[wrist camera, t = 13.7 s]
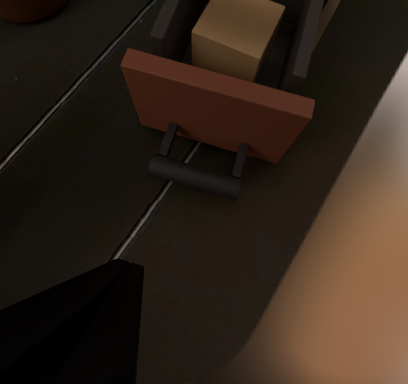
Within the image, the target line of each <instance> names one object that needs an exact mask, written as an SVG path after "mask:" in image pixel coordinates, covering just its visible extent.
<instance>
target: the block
mask: <svg viewBox="0 0 408 384" xmlns="http://www.w3.org/2000/svg"><path fill="white" fill-rule="evenodd" d="M284 10H285V6H283V5H281V4H278V3H275V2H273V1H270V0H210V2H209V3H208V5H207V7H206V8H205V10H204V12H203V13H202V15H201V17H200V18H199V20H198V22H197V23H196V25H195V27H194V28H193V30H192V66H195V67H199V68H202V69H206V70H209V71H213V72H217V73H220V74H224V75H227V76H231V77H235V78H238V79H242V80H245V81H249V82H252V83H256V82H257V80H258V78H259V76H260V73H261V71H262V69H263V67H264V65H265V63H266V61H267V59H268V56H269V53H270V50H271V48H272V45H273V42H274V39H275V36H276V33H277V30H278V27H279V25H280V22H281V19H282V16H283V13H284Z"/></svg>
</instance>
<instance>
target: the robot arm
mask: <svg viewBox="0 0 408 384" xmlns="http://www.w3.org/2000/svg"><path fill="white" fill-rule="evenodd" d="M143 278H144V267H143V266H141V265H138V264H135V263H131V264H130V263H129V262H128V261H125V260H121V259H115V260H112V261H110V262H108V263H106V264H103V265H101V266H99V267H97V268H94V269H92V270H90V271H88V272H85V273H83V274H81V275H79V276H76V277H74V278H72V279H70V280H67V281H65V282H63V283H61V284H58V285H56V286H54V287H52V288H49V289H47V290H45V291H43V292H40V293H38V294H36V295H34V296H31V297H29V298H27V299H25V300H22V301H20V302H18V303H16V304H13V305H11V306H9V307H7V308H4V309H2V310H0V384H136V374H137V371H136V369H137V358H138V345H139V331H140V318H141V305H142V291H143Z"/></svg>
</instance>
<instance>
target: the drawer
mask: <svg viewBox="0 0 408 384" xmlns="http://www.w3.org/2000/svg"><path fill="white" fill-rule="evenodd" d="M270 1H273V2H275V3H278V4H281V5H283V6H285V10H284V13H283V16H282V19H281V22H280V25H279V27H278V30H277V33H276V36H275V39H274V42H273V45H272V48H271V50H270V53H269V56H268V59H267V61H266V63H265V65H264V67H263V69H262V71H261V73H260V76H259V78H258V80H257V82H256V83H252V82H249V81H245V80H242V79H238V78H235V77H231V76H227V75H224V74H220V73H217V72H213V71H209V70H206V69H202V68H199V67H195V66H192V30H193V28H194V27H195V25H196V23H197V22H198V20H199V18H200V17H201V15H202V13H203V12H204V10H205V8H206V7H207V5H208V3H209V2H210V0H165V2H164V4H163V6H162V8H161V11H160V13H159V15H158V17H157V20H156V22H155V24H154V26H153V29H152V31H151V33H150V40H151V46H152V51H153V55H152V54H148V53H145V52H141V51H137V50H134V49H130V48H128V50H127V52H126V54H125V56H124V58H123V60H122V62H121V68H122V71H123V74H124V77H125V80H126V82H127V85H128V88H129V91H130V94H131V97H132V99H133V102H134V105H135V108H136V111H137V114H138V116H139V119H140V122H141V125H144V126H148V127H151V128H154V129H158V130H161V131H165V132H166V133H165V136H164V139H163V141H162V144H161V147H160V149H159V152H158V155H157V154H154V155H153V156H152V158H151V160H150V163H149V166H148V174H149V175H152V176H156V177H159V178H162V179H166V180H169V181H172V182H176V183H179V184H182V185H186V186H189V187H192V188H196V189H199V190H202V191H206V192H209V193H213V194H216V195H219V196H223V197H226V198H229V199H233V200H237V199H238V196H239V194H240V190H241V187H242V183H243V180H241V179H240V177H241V173H242V170H243V166H244V163H245V159H246V155H247V156H251V157H254V158H258V159H261V160H264V161H268V162H271V163H275V164H277V163H278V162H279V160H280V159H281V158H282V156H283V155H284V154H285V152H286V151H287V150H288V149H289V147H290V146H291V145H292V143H293V142H294V141H295V139H296V138H297V137H298V136H299V134H300V133H301V132H302V130H303V129H304V128H305V126H306V125H307V124H308V123H309V121H310V120H311V119H312V114H313V110H314V105H315V100H314V99H310V98H306V97H303V96H299V95H297V93H298V91H299V89H300V88H301V86H302V84H303V82H304V81H305V79H306V76H307V72H308V67H309V63H310V59H311V55H312V50H313V46H314V42H315V37H316V33H317V29H318V25H319V20H320V16H321V12H322V7H323V3H324V0H270ZM176 135H178V136H182V137H185V138H189V139H192V140H196V141H199V142H203V143H206V144H209V145H213V146H216V147H220V148H223V149H227V150H230V151H233V152H237V157H236V160H235V163H234V167H233V170H232V174H231V176H228V175H224V174H221V173H218V172H214V171H211V170H208V169H204V168H201V167H197V166H194V165H191V164H187V163H184V162H180V161H177V160H174V159H170V158H168V156H169V153H170V150H171V147H172V145H173V142H174V139H175V136H176Z"/></svg>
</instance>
